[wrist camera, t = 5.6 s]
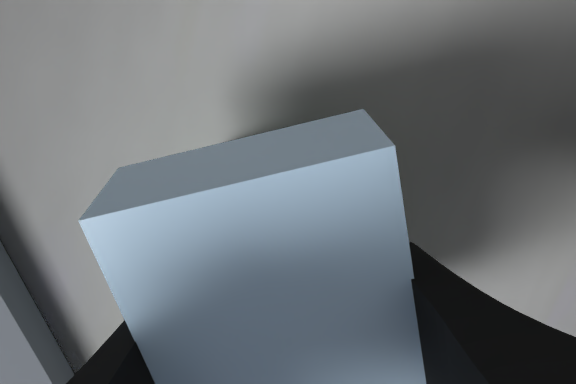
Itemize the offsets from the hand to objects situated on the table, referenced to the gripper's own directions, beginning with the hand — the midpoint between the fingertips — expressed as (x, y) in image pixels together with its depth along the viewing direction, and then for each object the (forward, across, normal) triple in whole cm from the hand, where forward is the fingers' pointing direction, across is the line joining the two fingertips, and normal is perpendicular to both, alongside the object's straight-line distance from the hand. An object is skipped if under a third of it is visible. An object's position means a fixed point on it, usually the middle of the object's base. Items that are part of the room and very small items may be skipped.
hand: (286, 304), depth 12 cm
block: (+1, 0, 0) cm, 1 cm away
